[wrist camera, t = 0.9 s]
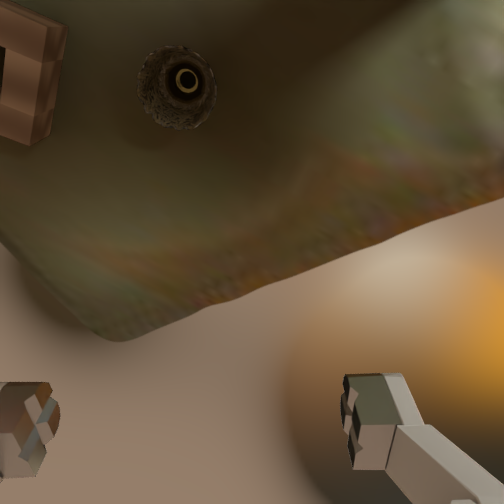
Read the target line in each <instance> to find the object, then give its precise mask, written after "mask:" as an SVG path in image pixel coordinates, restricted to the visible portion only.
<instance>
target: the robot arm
mask: <svg viewBox="0 0 504 504" xmlns="http://www.w3.org/2000/svg"><path fill="white" fill-rule="evenodd" d="M343 388H344V393H343V394H342V395H341V400H340V412H341V420H342V425H343V429H344V431H345V432H346V433H347V434H348V435H349V437H348V444H347V447H348V451H349V455H350V459H351V463H352V467H353V469H354V470H386V473H387V474H388V475H389V476H390V477H391V479H392V480H393V481H394V482H395V483H396V484H397V486H398V487H399V488H400V489H401V490H402V492H403V493H404V494H405V495H406V496H407V498H408V499H409V500H410V501H411V502H412V503H413V504H504V485H503V484H502V483H501V482H499V481H498V480H497V479H496V478H495V477H493V476H492V475H491V474H490V473H488V472H487V471H486V470H485V469H484V468H482V467H481V466H480V465H479V464H478V463H476V462H475V461H474V460H473V459H471V458H470V457H469V456H468V455H467V454H465V453H464V452H463V451H462V450H461V449H459V448H458V447H457V446H456V445H454V444H453V443H452V442H451V441H450V440H448V439H447V438H446V437H445V436H443V435H442V434H441V433H440V432H439V431H437V430H436V429H435V428H434V427H433V426H431V425H425V424H424V422H423V420H422V418H421V416H420V413H419V411H418V409H417V406H416V404H415V402H414V400H413V397H412V395H411V393H410V391H409V388H408V386H407V384H406V382H405V380H404V377H403V375H402V374H400V373H381V374H380V373H370V374H345V376H344V377H343ZM52 391H53V390H52V388H51V386H50V384H49V383H48V382H0V483H1V482H2V481H3V480H2V479H4V478H23V477H36V474H37V472H38V470H39V468H40V466H41V464H42V462H43V459H44V457H45V455H46V453H47V452H46V448H45V444H46V443H47V442H49V441H50V440H51V439H52V438H53V437H54V436H55V434H56V431H57V429H58V426H59V420H60V407H59V405H58V402H57V401H55V400H54V399H52V398H51V397H50V395H51V393H52Z"/></svg>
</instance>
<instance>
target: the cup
mask: <svg viewBox="0 0 504 504" xmlns="http://www.w3.org/2000/svg"><path fill="white" fill-rule="evenodd" d="M185 72H190V73H192V74H193V75H194V77H195V84H194V86H193V87H191V88H185V87H184V86H183V85H182V84H181V81H180V78H181V75H182V74H183V73H185ZM137 81H138V85H137V96H138V98H139V100H140V101H141V102H142V103H143V104H144V105H145V107H144V111H145V112H146V113H152V118H153V120H154V121H155V122H156V123H157V124H161V125H162V126H163V127H165V128H173V127H174V128H175V129H176V130H177V131H180V130H182V129H187V130H189V129H194V128H196V127H198V126H199V125H200V124H201V123H202V122H205V121H206V120H207V119H208V116H209V114H210V112H211V111H212V109H213V106H214V105H215V103H216V96H217V85H216V81H215V78H214V74H213V72H212V69H211V68H210V66H209V65H208V63H207V62H206V61H205V60H204V59H203V58H202V57H201V56H200V55H199V54H198V53H196V52H195V51H193V50H191V49H188V48H185V47H183V46H180V45H178V46H162V47H160V48H158V49H156V50H155V51H154V52H152V53H150V54H148V55H147V56H146V62H145V63H144V65H143V68H142V70H141V71H140V72H138V75H137Z"/></svg>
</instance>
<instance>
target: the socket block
mask: <svg viewBox="0 0 504 504" xmlns="http://www.w3.org/2000/svg"><path fill="white" fill-rule="evenodd" d="M67 32H68V26H66V25H63V24H61V23H59V22H57V21H54V20H52V19H50V18H48V17H45V16H43V15H41V14H39V13H36V12H34V11H32V10H30V9H27V8H25V7H23V6H21V5H19V4H16V3H14V2H12V1H10V0H0V46H2V47H4V48H6V53H5V62H4V72H3V81H2V86H0V135H1V136H4V137H6V138H9V139H11V140H14V141H17V142H19V143H22V144H25V145H27V146H31V145H33V144H34V143H36V142H38V141H40V140H42V139H43V138H45V137H47V136H49V135H50V131H51V125H52V119H53V114H54V108H55V102H56V96H57V90H58V85H59V79H60V73H61V67H62V61H63V55H64V50H65V44H66V38H67Z"/></svg>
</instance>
